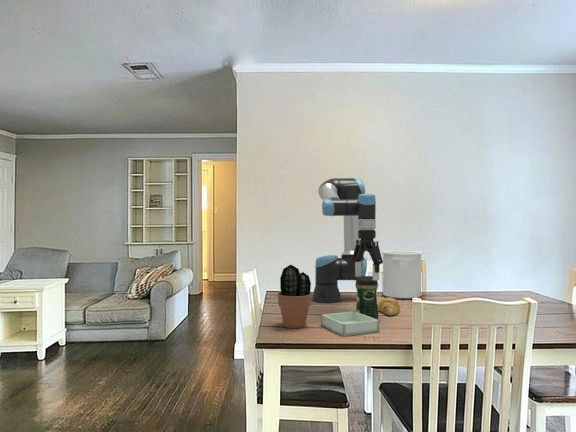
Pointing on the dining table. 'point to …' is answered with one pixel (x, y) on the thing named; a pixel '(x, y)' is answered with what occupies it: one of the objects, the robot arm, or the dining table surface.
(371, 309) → the coffee jar
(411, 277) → the bucket
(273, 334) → the dining table surface
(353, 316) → the bin
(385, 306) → the croissant
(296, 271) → the potted plant
